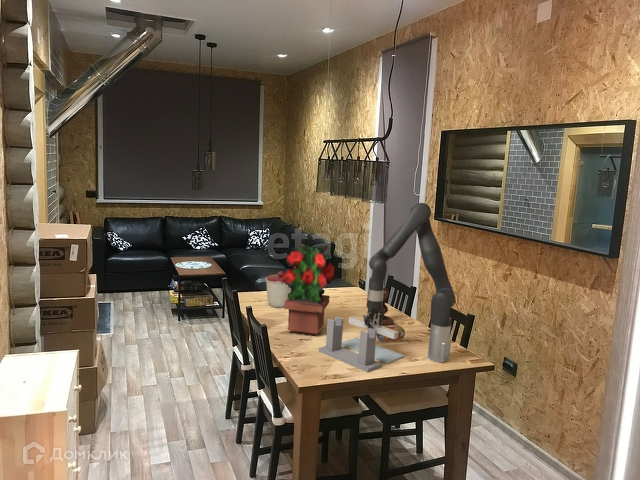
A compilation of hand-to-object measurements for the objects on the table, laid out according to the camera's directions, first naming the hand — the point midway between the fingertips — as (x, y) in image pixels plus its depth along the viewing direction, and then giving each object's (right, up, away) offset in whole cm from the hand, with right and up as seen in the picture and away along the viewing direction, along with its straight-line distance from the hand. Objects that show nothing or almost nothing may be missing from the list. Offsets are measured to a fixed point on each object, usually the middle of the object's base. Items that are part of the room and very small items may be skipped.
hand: (372, 332), depth 249 cm
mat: (-1, -9, +1) cm, 9 cm away
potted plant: (-33, -3, +24) cm, 41 cm away
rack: (-12, -10, -10) cm, 18 cm away
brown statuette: (+9, -3, +42) cm, 43 cm away
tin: (+10, -7, +16) cm, 20 cm away
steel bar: (0, +1, 0) cm, 1 cm away
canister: (-50, +5, +65) cm, 82 cm away
